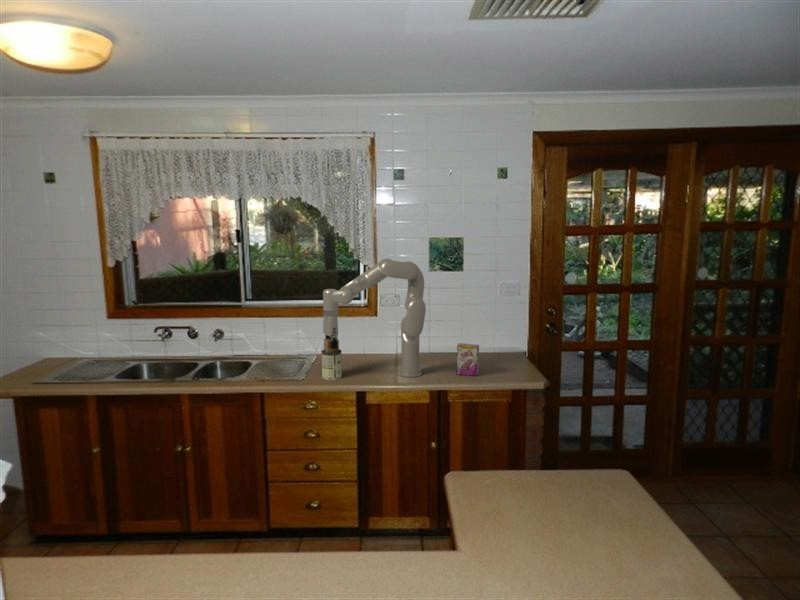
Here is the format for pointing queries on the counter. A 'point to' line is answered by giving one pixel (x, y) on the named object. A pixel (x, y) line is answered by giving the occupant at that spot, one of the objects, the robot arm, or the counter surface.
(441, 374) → the counter surface
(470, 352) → the candy bar box
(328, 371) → the coffee can
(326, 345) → the walnut cube
